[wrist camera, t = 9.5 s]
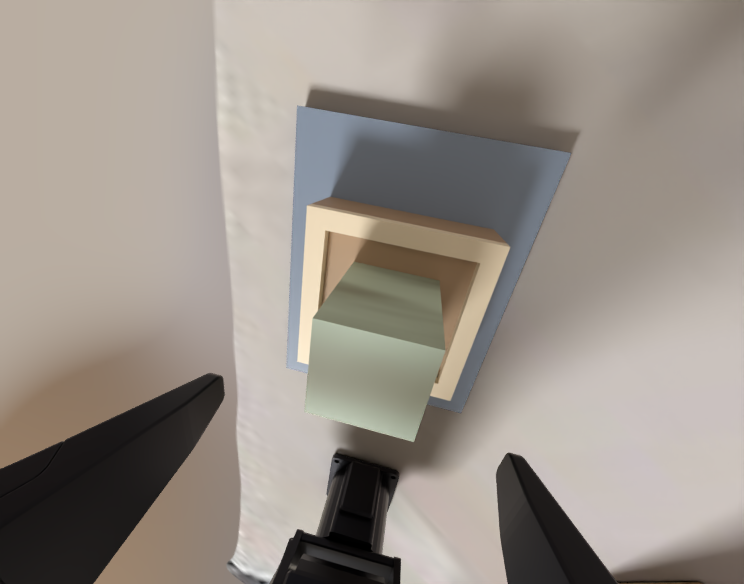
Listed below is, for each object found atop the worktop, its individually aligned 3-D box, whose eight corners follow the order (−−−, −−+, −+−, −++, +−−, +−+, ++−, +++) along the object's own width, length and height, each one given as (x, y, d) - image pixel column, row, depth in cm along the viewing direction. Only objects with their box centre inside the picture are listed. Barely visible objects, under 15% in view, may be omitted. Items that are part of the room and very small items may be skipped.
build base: (459, 403, 23) (466, 457, 19) (291, 360, 24) (263, 401, 20) (562, 153, 15) (614, 150, 11) (304, 108, 16) (261, 90, 12)
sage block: (418, 350, 17) (413, 441, 11) (343, 332, 17) (304, 412, 12) (439, 280, 15) (445, 350, 9) (353, 261, 15) (312, 318, 10)
